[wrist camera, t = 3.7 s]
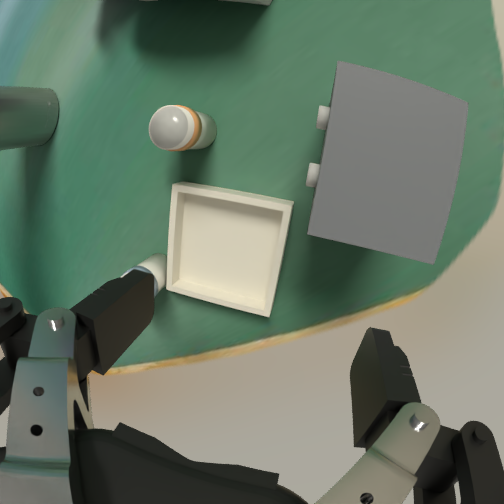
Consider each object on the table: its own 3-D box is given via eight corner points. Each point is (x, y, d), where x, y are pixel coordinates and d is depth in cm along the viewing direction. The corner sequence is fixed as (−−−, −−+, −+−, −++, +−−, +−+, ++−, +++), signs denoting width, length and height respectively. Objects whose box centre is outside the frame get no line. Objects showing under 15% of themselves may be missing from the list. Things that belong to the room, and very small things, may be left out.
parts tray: (175, 281, 36) (166, 289, 34) (182, 181, 32) (172, 184, 30) (272, 306, 34) (269, 317, 32) (294, 201, 30) (291, 205, 28)
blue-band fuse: (146, 278, 37) (115, 303, 31) (146, 248, 36) (114, 269, 29) (175, 287, 37) (147, 315, 30) (177, 256, 35) (147, 281, 29)
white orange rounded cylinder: (179, 148, 31) (145, 149, 24) (184, 110, 29) (150, 103, 23) (215, 152, 30) (187, 153, 24) (221, 113, 29) (194, 104, 22)
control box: (306, 196, 29) (295, 231, 17) (323, 100, 26) (324, 58, 13) (391, 216, 28) (439, 266, 15) (409, 123, 24) (473, 105, 12)
